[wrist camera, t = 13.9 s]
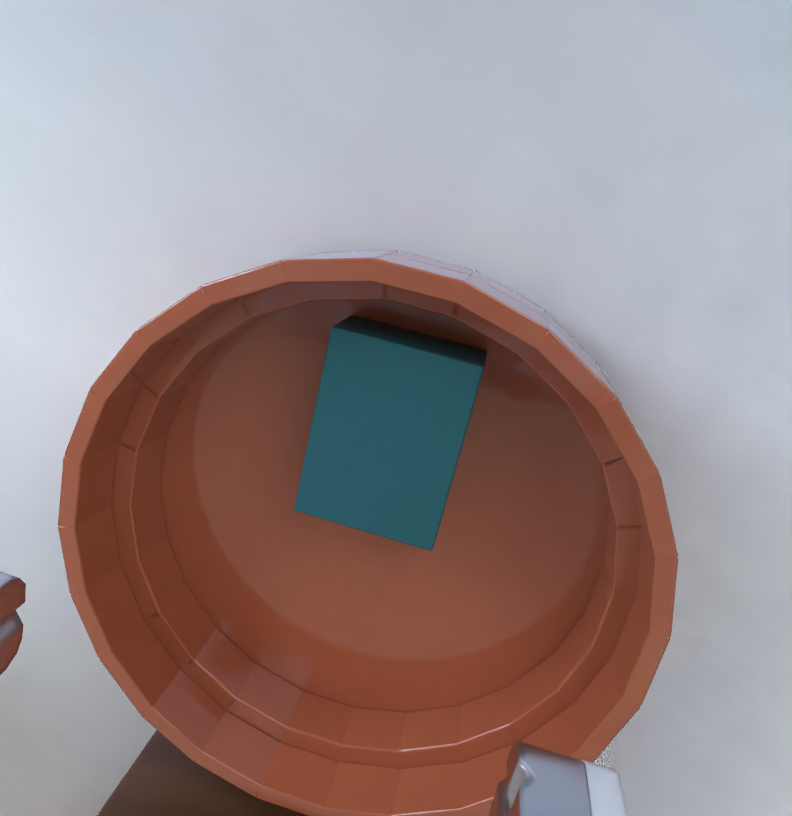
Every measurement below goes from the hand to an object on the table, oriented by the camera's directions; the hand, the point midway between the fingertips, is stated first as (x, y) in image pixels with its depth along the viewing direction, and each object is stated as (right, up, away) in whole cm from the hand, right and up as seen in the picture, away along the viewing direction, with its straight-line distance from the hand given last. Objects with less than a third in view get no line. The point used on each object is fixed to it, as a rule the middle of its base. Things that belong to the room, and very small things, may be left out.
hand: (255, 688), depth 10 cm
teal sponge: (+2, +4, +12) cm, 12 cm away
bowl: (+1, +1, +13) cm, 13 cm away
